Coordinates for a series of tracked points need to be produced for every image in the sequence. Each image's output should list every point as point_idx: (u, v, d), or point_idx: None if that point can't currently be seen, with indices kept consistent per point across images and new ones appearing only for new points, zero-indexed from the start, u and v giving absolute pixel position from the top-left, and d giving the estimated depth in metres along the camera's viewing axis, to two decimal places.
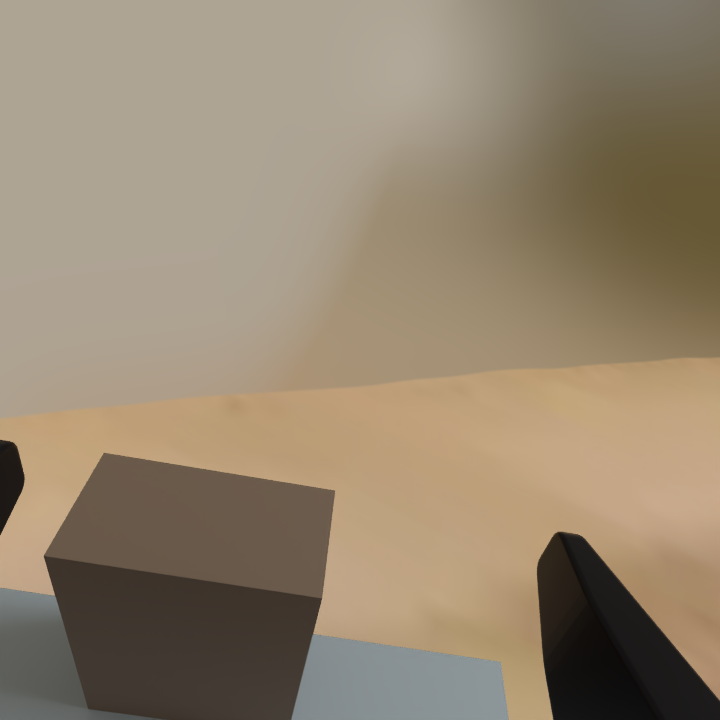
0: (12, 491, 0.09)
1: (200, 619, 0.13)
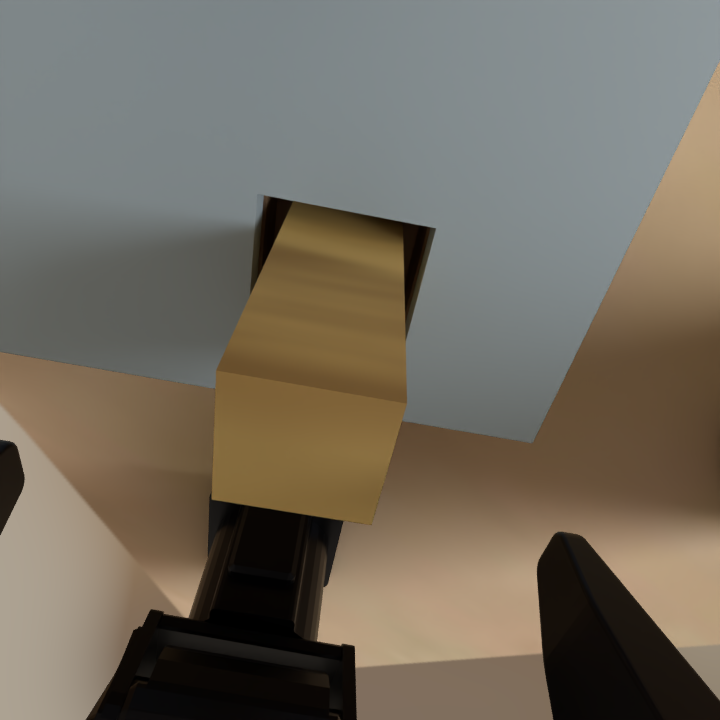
0: (12, 491, 0.09)
1: None
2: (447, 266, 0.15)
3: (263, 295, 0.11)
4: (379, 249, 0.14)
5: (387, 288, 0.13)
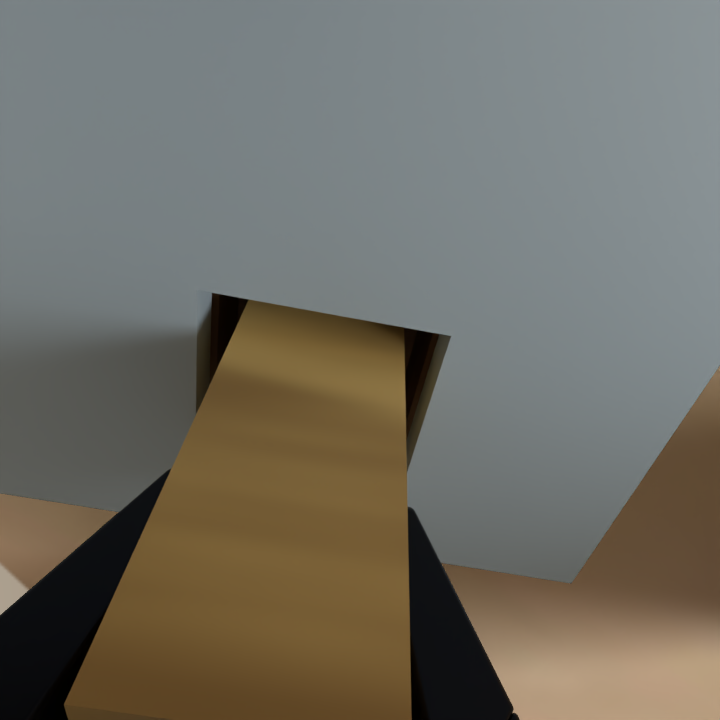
0: None
1: None
2: (465, 382, 0.11)
3: (185, 484, 0.07)
4: (371, 365, 0.10)
5: (381, 446, 0.08)
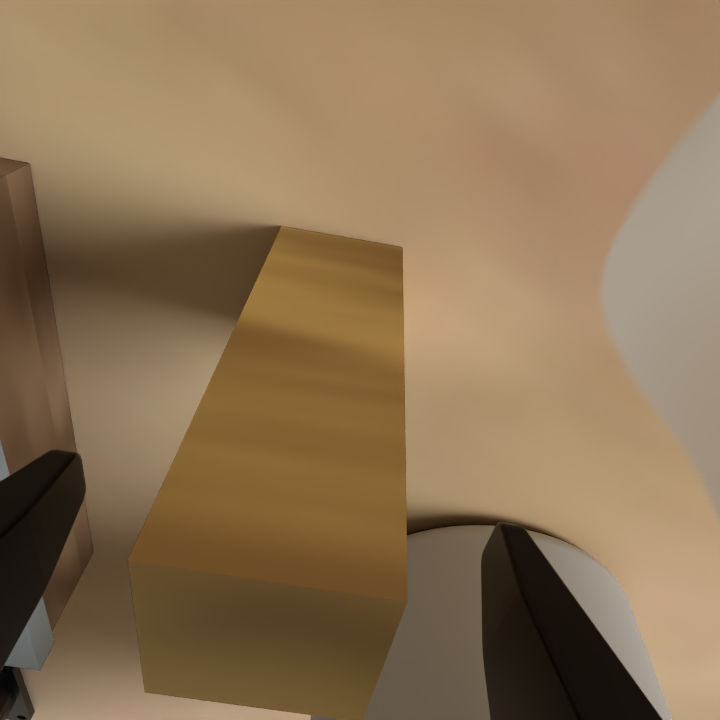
0: (75, 501, 0.09)
1: None
2: None
3: (214, 409, 0.08)
4: (373, 320, 0.11)
5: (382, 384, 0.10)
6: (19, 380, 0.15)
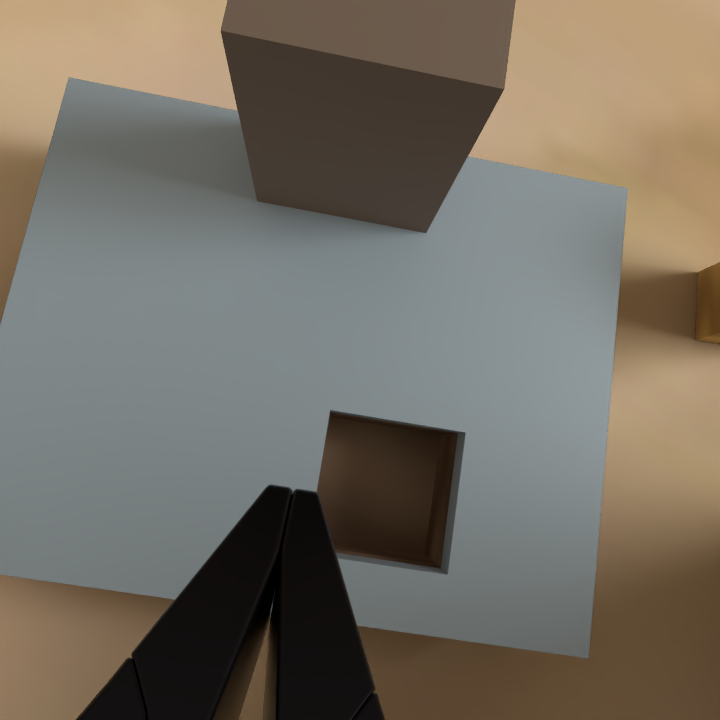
0: None
1: (372, 112, 0.13)
2: (478, 464, 0.19)
3: None
4: None
5: None
6: None
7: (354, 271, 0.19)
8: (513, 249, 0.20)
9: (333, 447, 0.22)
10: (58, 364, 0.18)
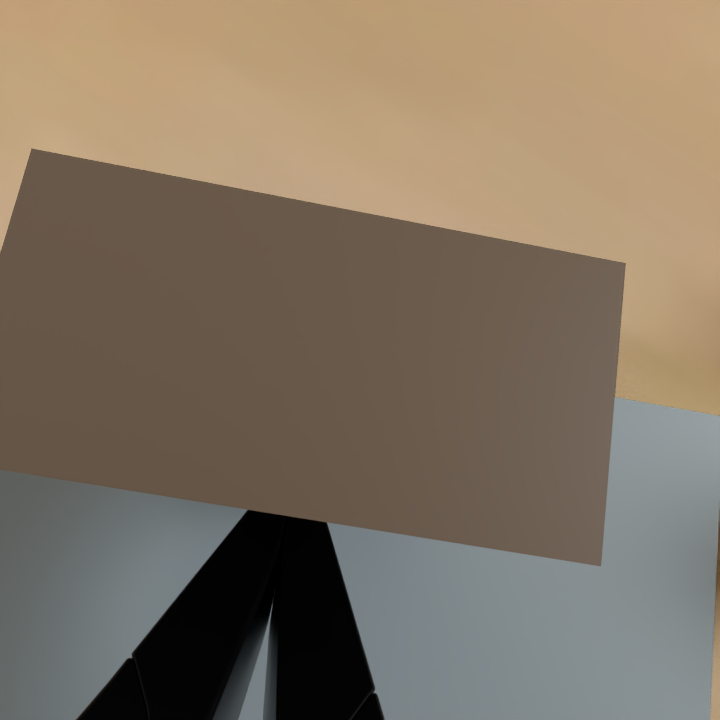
0: None
1: None
2: None
3: None
4: None
5: None
6: None
7: None
8: None
9: None
10: None
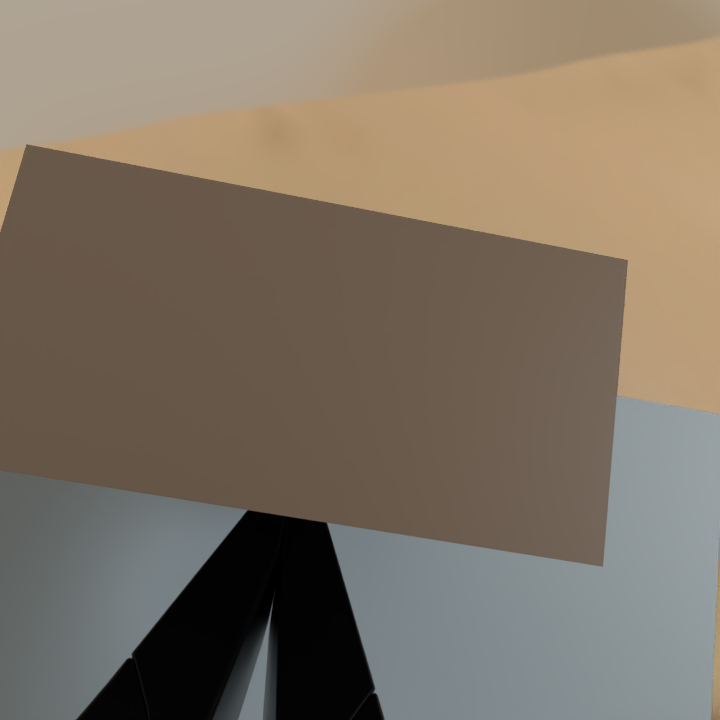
0: None
1: None
2: None
3: None
4: None
5: None
6: None
7: None
8: None
9: None
10: None
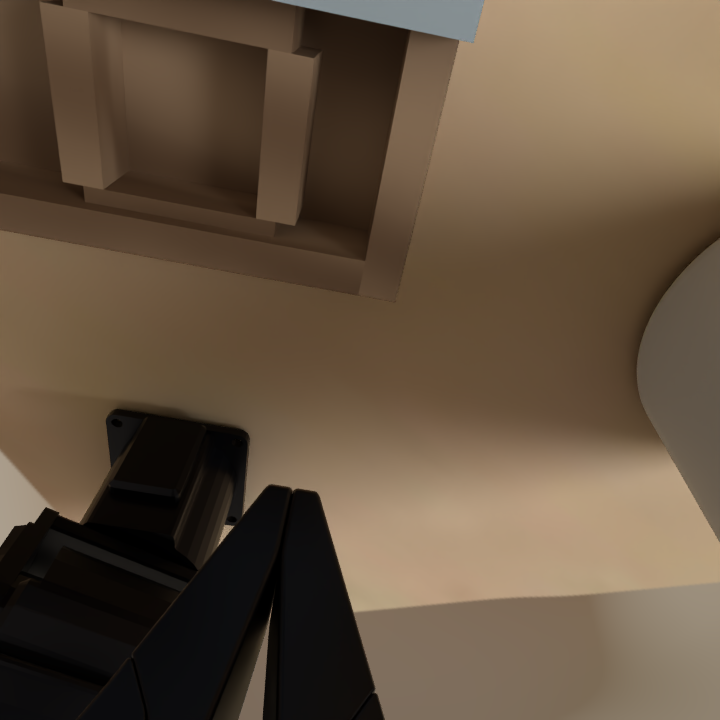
0: None
1: None
2: None
3: None
4: None
5: None
6: None
7: None
8: None
9: (137, 56, 0.16)
10: None
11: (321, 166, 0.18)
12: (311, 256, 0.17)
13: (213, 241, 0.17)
